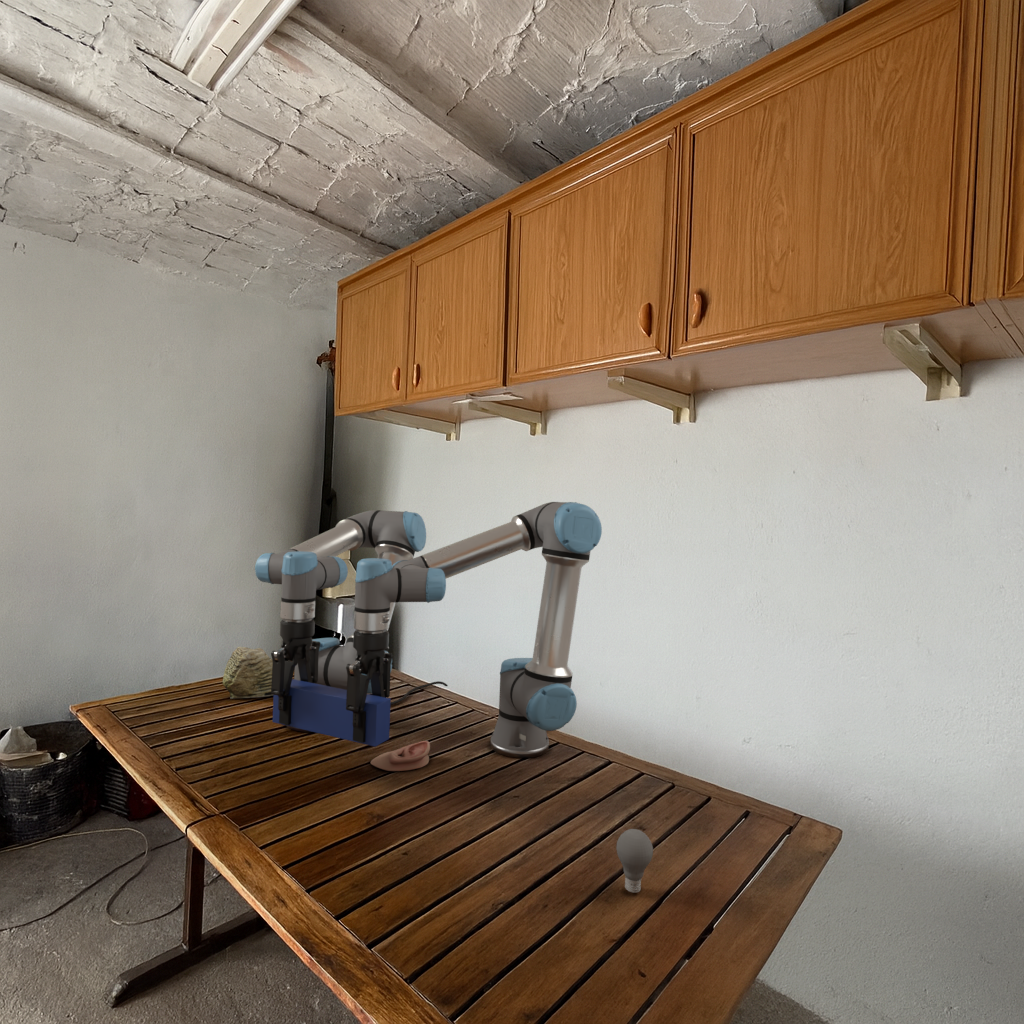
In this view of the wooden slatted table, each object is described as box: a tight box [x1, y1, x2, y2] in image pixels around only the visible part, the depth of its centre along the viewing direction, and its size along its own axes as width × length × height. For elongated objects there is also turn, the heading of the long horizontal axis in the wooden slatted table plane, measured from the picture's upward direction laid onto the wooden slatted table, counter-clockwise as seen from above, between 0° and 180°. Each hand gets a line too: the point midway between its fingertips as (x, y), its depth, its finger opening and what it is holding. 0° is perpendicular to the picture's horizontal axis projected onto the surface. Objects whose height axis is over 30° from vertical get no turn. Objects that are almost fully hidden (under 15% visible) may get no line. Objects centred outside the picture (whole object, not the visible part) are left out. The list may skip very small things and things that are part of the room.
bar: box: [272, 678, 392, 748], centre depth 142 cm, size 28×5×9 cm, turn 66°
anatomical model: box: [370, 740, 431, 772], centre depth 153 cm, size 13×4×12 cm
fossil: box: [222, 646, 274, 699], centre depth 198 cm, size 9×18×15 cm, turn 132°
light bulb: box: [615, 828, 654, 894], centre depth 106 cm, size 6×6×10 cm
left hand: (294, 719), depth 146 cm, fingers closed on bar, 5 cm apart
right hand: (367, 736), depth 138 cm, fingers closed on bar, 5 cm apart
